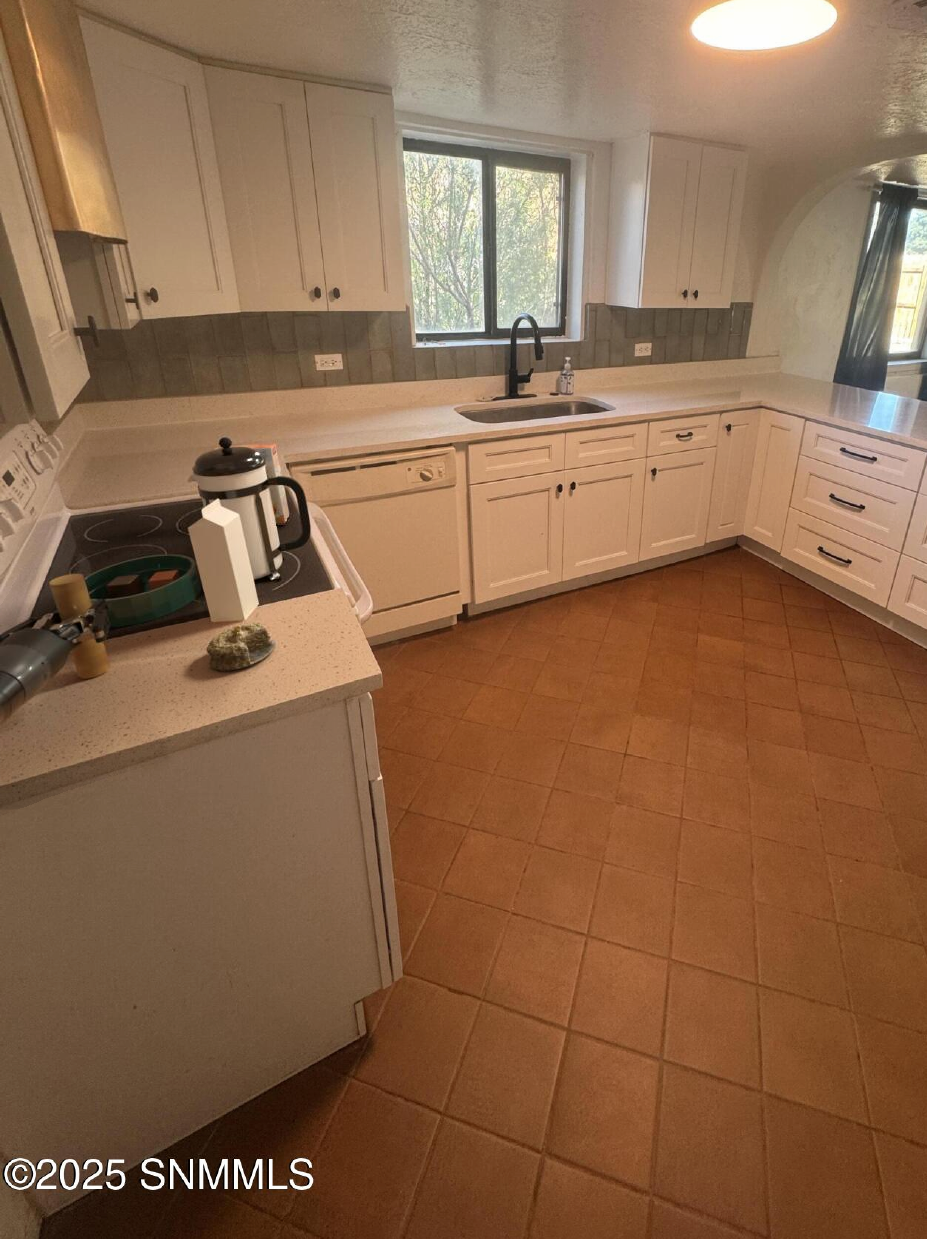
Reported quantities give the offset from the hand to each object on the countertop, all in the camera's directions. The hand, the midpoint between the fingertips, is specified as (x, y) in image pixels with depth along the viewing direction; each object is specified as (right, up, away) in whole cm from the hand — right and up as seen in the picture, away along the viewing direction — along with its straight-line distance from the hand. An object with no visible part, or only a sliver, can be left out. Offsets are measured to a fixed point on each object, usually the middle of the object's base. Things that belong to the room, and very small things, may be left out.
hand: (87, 606), depth 91 cm
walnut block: (-9, -2, +22) cm, 24 cm away
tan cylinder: (+1, -10, 0) cm, 11 cm away
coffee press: (+11, +1, +32) cm, 34 cm away
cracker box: (-3, +10, +59) cm, 60 cm away
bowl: (-6, -3, +21) cm, 22 cm away
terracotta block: (-3, -2, +23) cm, 23 cm away
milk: (+15, -5, +16) cm, 22 cm away
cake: (+22, -9, +4) cm, 24 cm away
